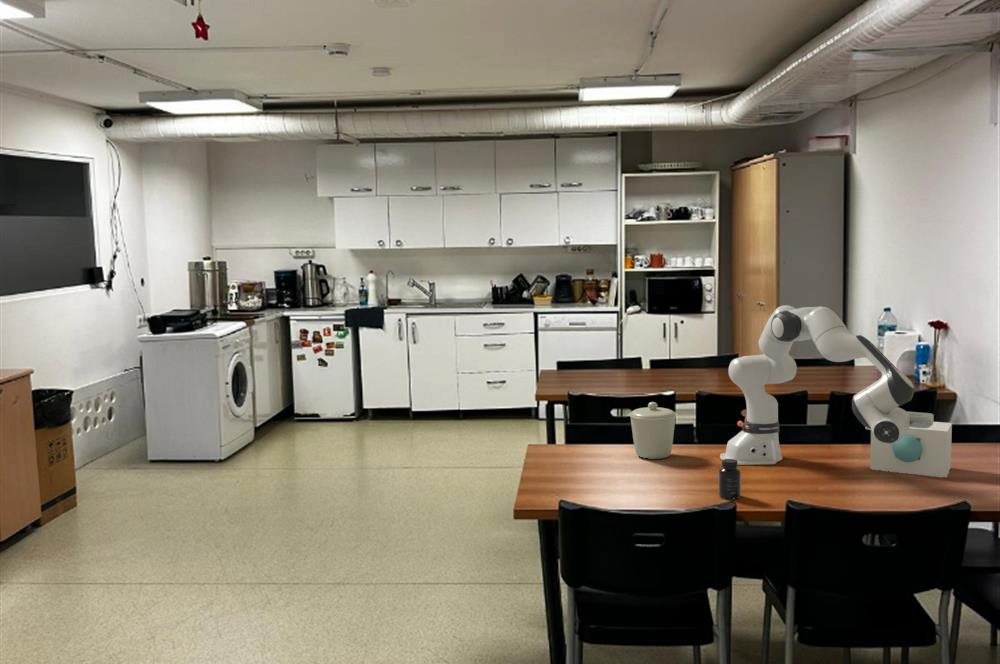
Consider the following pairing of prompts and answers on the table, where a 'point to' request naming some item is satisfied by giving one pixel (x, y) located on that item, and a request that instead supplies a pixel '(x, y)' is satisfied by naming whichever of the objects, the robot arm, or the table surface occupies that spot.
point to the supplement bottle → (729, 479)
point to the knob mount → (931, 460)
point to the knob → (908, 448)
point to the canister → (653, 431)
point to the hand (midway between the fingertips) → (901, 413)
